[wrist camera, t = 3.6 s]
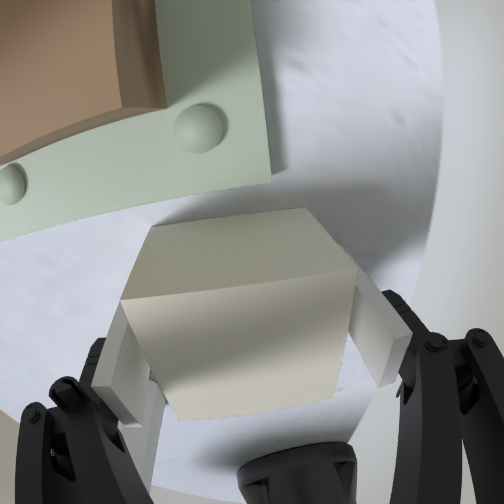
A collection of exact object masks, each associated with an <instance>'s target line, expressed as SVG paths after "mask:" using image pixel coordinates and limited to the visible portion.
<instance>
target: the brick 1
mask: <svg viewBox="0 0 504 504" xmlns="http://www.w3.org/2000/svg"><path fill="white" fill-rule="evenodd" d="M164 109H167V104H166V97H165V90H164V83H163V75H162V67H161V59H160V51H159V41H158V32H157V21H156V10H155V0H0V166H2V165H4V164H6V163H9V162H11V161H14V160H16V159H19V158H21V157H23V156H25V155H28V154H30V153H32V152H34V151H37V150H39V149H41V148H43V147H46V146H48V145H51V144H53V143H56V142H58V141H61V140H63V139H66V138H69V137H71V136H74V135H77V134H80V133H82V132H85V131H88V130H91V129H94V128H97V127H100V126H104V125H107V124H110V123H113V122H117V121H120V120H124V119H127V118H131V117H135V116H139V115H143V114H147V113H151V112H155V111H159V110H164Z"/></svg>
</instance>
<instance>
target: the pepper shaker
mask: <svg viewBox="0 0 504 504" xmlns="http://www.w3.org/2000/svg"><path fill="white" fill-rule="evenodd" d="M165 403H166V400H165V397H164V395H163V393H162V391H161V389H160V387H159V385H158V383H157V382H154V381H152V380H150V379H148V386H147V393H146V401H145V409H144V418H143V427H125V426H124V425H123V424H122V423H121V422H120V421H118V427H117V428H118V429H119V430H120V432H121V433H122V435H123V438H124V440H125V443H126V445H127V448H128V450H129V453H130V455H131V457H132V460H133V462H134V464H135V467H136V469H137V471H138V473H139V475H140V477H141V479H142V482H143V484H144V486H145V488H146V490H147V492H148V494H149V493H150V487H151V480H152V474H153V468H154V462H155V456H156V450H157V445H158V439H159V434H160V428H161V423H162V418H163V413H164V408H165Z"/></svg>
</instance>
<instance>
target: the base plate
mask: <svg viewBox="0 0 504 504" xmlns="http://www.w3.org/2000/svg"><path fill="white" fill-rule="evenodd" d="M155 10H156V21H157V32H158V41H159V51H160V59H161V67H162V75H163V83H164V90H165V97H166V104H167V109H164V110H159V111H155V112H151V113H147V114H143V115H139V116H135V117H131V118H127V119H124V120H120V121H117V122H113V123H110V124H107V125H104V126H100V127H97V128H94V129H91V130H88V131H85V132H82V133H80V134H77V135H74V136H71V137H69V138H66V139H63V140H61V141H58V142H56V143H53V144H51V145H48V146H46V147H43V148H41V149H39V150H37V151H34V152H32V153H30V154H28V155H25V156H23V157H21V158H19V159H16V160H14V161H11V162H9V163H6V164H4V165H2V166H0V242H2V241H6V240H9V239H12V238H15V237H18V236H22V235H25V234H28V233H32V232H35V231H39V230H42V229H46V228H49V227H53V226H56V225H60V224H64V223H68V222H71V221H75V220H79V219H83V218H87V217H91V216H95V215H99V214H104V213H108V212H112V211H117V210H121V209H125V208H130V207H135V206H139V205H144V204H149V203H154V202H159V201H164V200H169V199H174V198H180V197H185V196H191V195H196V194H202V193H208V192H214V191H220V190H226V189H233V188H239V187H246V186H253V185H260V184H268V183H272V178H271V167H270V157H269V148H268V138H267V129H266V120H265V111H264V102H263V94H262V85H261V77H260V69H259V61H258V54H257V46H256V39H255V31H254V24H253V17H252V10H251V3H250V0H155Z"/></svg>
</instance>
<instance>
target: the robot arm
mask: <svg viewBox="0 0 504 504" xmlns="http://www.w3.org/2000/svg"><path fill="white" fill-rule="evenodd" d="M339 246H340V247H341V249H342V250H343V251H344V252H345V253H346V255H347V256H348V257H349V258H350V260H351V261H352V262H353V263H354V264H355V266H356V267H357V276H356V283H355V290H354V297H353V303H352V309H351V315H350V321H349V327H348V332H349V334H350V336H351V338H352V339H353V341H354V343H355V345H356V347H357V349H358V350H359V352H360V354H361V356H362V358H363V360H364V362H365V364H366V365H367V367H368V369H369V371H370V373H371V375H372V377H373V379H374V381H375V383H376V385H377V387H378V388H379V387H382V386H385V385H387V384H390V383H393V382H395V380H396V377H397V375H398V373H399V374H400V376H401V378H402V379H403V380H402V382H401V385H400V387H399V389H398V391H397V394H396V397H399V395H400V420H399V435H398V447H397V457H396V466H395V473H394V480H393V487H392V493H391V498H390V504H460V499H461V485H462V440H463V444H464V448H465V451H466V455H467V459H468V464H469V468H470V472H471V477H472V482H473V487H474V492H475V498H476V504H504V358H503V356H502V354H501V352H500V350H499V349H498V347H497V345H496V343H495V342H494V340H493V338H492V337H491V335H490V334H489V333H488V332H486V331H485V330H483V329H479V328H474V329H471V330H469V331H468V333H467V334H466V337H465V338H464V339H458V340H447V338H445V336H443V335H441V334H439V333H435V332H430V331H429V330H428V329H427V328H426V327H425V325H424V324H423V323H422V322H421V320H420V319H419V318H418V317H417V315H416V314H415V313H414V312H413V311H411V308H410V307H409V306H408V304H406V302H405V301H404V300H403V299H402V297H401V296H400V295H398V294H397V293H395V292H393V291H392V290H386V291H382V292H381V291H380V290H379V289H378V288H377V286H376V285H375V284H374V283H373V281H372V280H371V279H370V278H369V277H368V275H367V274H366V273H365V272H364V271H363V269H362V268H361V267H360V266H359V265H358V263H357V262H356V261H355V260H354V259H353V257H352V256H351V255H350V254H349V253H348V252H347V250H346V249H345V248H344V247H343V246H342V245H341V244H340V245H339ZM149 373H150V367H149V365H148V363H147V361H146V359H145V357H144V354H143V352H142V350H141V348H140V346H139V344H138V342H137V339H136V337H135V335H134V333H133V331H132V328H131V326H130V324H129V321H128V319H127V317H126V314H125V312H124V309H123V307H122V304H121V302H119V305H118V307H117V310H116V312H115V315H114V318H113V320H112V323H111V326H110V329H109V332H108V334H107V337H106V338H98V339H97V340H96V341H95V342H94V344H93V345H92V346H91V348H90V351H89V354H88V358H87V359H86V362H85V365H84V368H83V371H82V374H81V377H80V380H79V382H78V381H77V380H76V379H75V378H73V377H69V376H66V377H62V378H60V379H58V380H56V381H55V382H54V384H53V385H52V386H51V388H50V390H49V397H50V398H51V399H52V400H53V401H54V403H55V404H56V405H57V407H53V408H49V409H46V408H45V406H44V405H42V404H41V403H40V402H33V403H30V404H29V405H28V406H26V408H25V409H24V410H23V413H22V416H21V422H20V429H19V437H18V446H17V456H16V472H15V504H154V503H153V501H152V499H151V498H150V496H149V494H148V492H147V490H146V488H145V486H144V484H143V482H142V479H141V477H140V475H139V473H138V471H137V469H136V467H135V464H134V462H133V460H132V457H131V455H130V453H129V450H128V448H127V445H126V443H125V440H124V438H123V435H122V433H121V432H120V430H119V429H118V428H117V427H118V421H120V422H121V423H122V424H123V425H124V426H125V427H143V418H144V409H145V401H146V393H147V386H148V379H149ZM475 379H476V380H475ZM476 381H477V382H476ZM51 450H52V453H51ZM237 480H238V487H239V490H240V492H241V494H242V496H243V497H244V499H245V501H246V503H247V504H357V503H356V487H357V458H356V455H355V453H354V450H353V447H352V446H351V445H349V444H346V443H325V444H317V445H311V446H305V447H300V448H296V449H291V450H287V451H283V452H280V453H276V454H273V455H269V456H266V457H263V458H260V459H258V460H255V461H253V462H250V463H248V464H246V465H245V466H243V467H242V468H240V469H239V470H238V472H237Z"/></svg>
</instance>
